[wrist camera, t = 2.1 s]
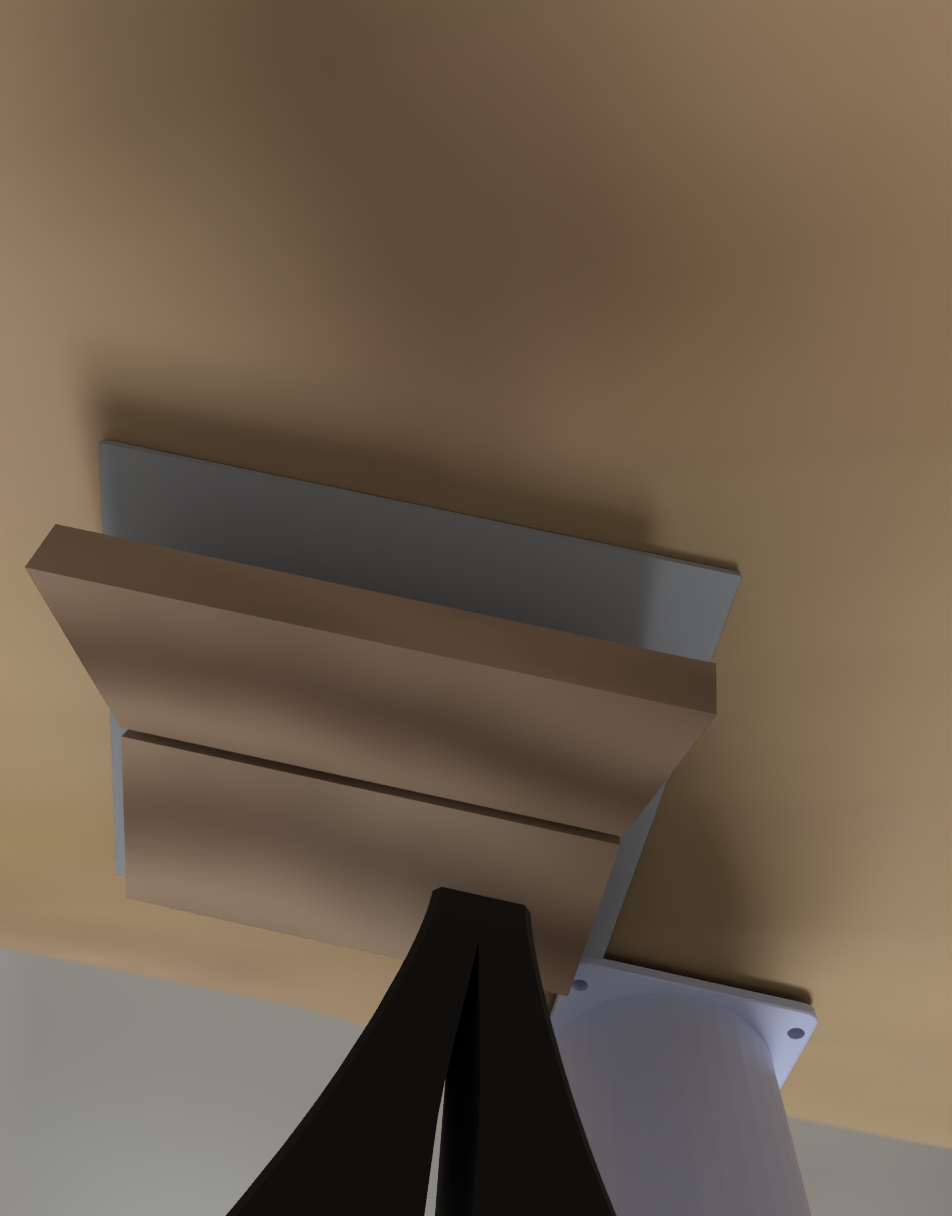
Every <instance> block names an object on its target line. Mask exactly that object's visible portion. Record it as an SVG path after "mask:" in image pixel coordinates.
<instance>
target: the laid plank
mask: <svg viewBox="0 0 952 1216" xmlns="http://www.w3.org/2000/svg"><path fill="white" fill-rule="evenodd" d="M121 746H122V777H123V807H124V838H125V868H126V898H128V899H133V900H137V901H142V902H146V903H151V904H155V905H160V906H164V907H169V908H173V909H178V910H182V911H187V912H191V913H196V914H200V915H205V916H209V917H214V918H218V919H222V920H227V921H231V922H236V923H240V924H245V925H249V926H254V927H258V928H263V929H267V930H272V931H276V932H281V933H285V934H290V935H294V936H299V937H303V938H308V939H312V940H317V941H321V942H326V943H330V944H335V945H339V946H344V947H348V948H353V949H357V950H362V951H366V952H371V953H375V954H380V955H384V956H389V957H393V958H397V959H402V960H405V958H406V956H407V954H408V952H409V950H410V948H411V946H412V944H413V942H414V940H415V937H416V935H417V933H418V931H419V929H420V926H421V924H422V921H423V919H424V916H425V914H426V911H427V908H428V905H429V902H430V898H431V895H432V891H433V890H435V889H437V888H440V887H446V888H450V889H455V890H459V891H464V892H468V893H473V894H478V895H482V896H487V897H491V898H496V899H500V900H505V901H509V902H514V903H518V904H523V905H525V906H526V907H527V909H528V910H529V911H530V913H531V924H532V932H533V939H534V945H535V951H536V957H537V962H538V967H539V972H540V977H541V981H542V986H543V990H544V991H546V992H550V993H555V994H559V995H564V996H568V995H569V992H570V989H571V986H572V984H573V981H574V978H575V975H576V972H577V969H578V966H579V963H580V960H581V958H582V955H583V952H584V949H585V946H586V943H587V940H588V937H589V934H590V931H591V929H592V926H593V923H594V920H595V917H596V914H597V911H598V908H599V905H600V902H601V900H602V897H603V894H604V891H605V888H606V885H607V882H608V879H609V876H610V874H611V871H612V868H613V865H614V862H615V859H616V856H617V853H618V850H619V847H620V836H617V835H613V834H608V833H603V832H599V831H594V830H590V829H585V828H580V827H576V826H571V825H567V824H562V823H557V822H553V821H548V820H544V819H539V818H534V817H530V816H525V815H521V814H516V813H511V812H507V811H502V810H498V809H493V808H488V807H484V806H479V805H475V804H470V803H465V802H461V801H456V800H452V799H447V798H442V797H438V796H433V795H429V794H424V793H419V792H415V791H410V790H406V789H401V788H396V787H392V786H387V785H383V784H378V783H373V782H369V781H364V780H360V779H355V778H350V777H346V776H341V775H337V774H332V773H327V772H323V771H318V770H314V769H309V768H304V767H300V766H295V765H291V764H286V763H281V762H277V761H272V760H268V759H263V758H258V757H254V756H249V755H245V754H240V753H235V752H231V751H226V750H222V749H217V748H212V747H208V746H203V745H199V744H194V743H189V742H185V741H180V740H176V739H171V738H166V737H162V736H157V735H153V734H148V733H143V732H139V731H134V730H130V729H128V730H127V731H126V732H125V733H124V734H123V735H122V736H121Z"/></svg>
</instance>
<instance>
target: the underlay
mask: <svg viewBox="0 0 952 1216" xmlns="http://www.w3.org/2000/svg"><path fill="white" fill-rule="evenodd" d="M99 445H100V471H101V496H102V521H103V534H105V535H109V536H114V537H119V538H124V539H128V540H133V541H138V542H143V543H147V544H152V545H157V546H161V547H166V548H171V549H176V550H180V551H185V552H190V553H195V554H199V555H204V556H209V557H214V558H218V559H223V560H228V561H233V562H237V563H242V564H247V565H251V566H256V567H261V568H266V569H270V570H275V571H280V572H285V573H289V574H294V575H299V576H304V577H308V578H313V579H318V580H322V581H327V582H332V583H337V584H341V585H346V586H351V587H356V588H360V589H365V590H370V591H375V592H379V593H384V594H389V595H393V596H398V597H403V598H408V599H412V600H417V601H422V602H427V603H431V604H436V605H441V606H446V607H450V608H455V609H460V610H465V611H469V612H474V613H479V614H483V615H488V616H493V617H498V618H502V619H507V620H512V621H517V622H521V623H526V624H531V625H536V626H540V627H545V628H550V629H554V630H559V631H564V632H569V633H573V634H578V635H583V636H588V637H592V638H597V639H602V640H607V641H611V642H616V643H621V644H626V645H630V646H635V647H640V648H644V649H649V650H654V651H659V652H663V653H668V654H673V655H678V656H682V657H687V658H692V659H697V660H701V661H706V662H711V660H712V657H713V654H714V652H715V649H716V646H717V643H718V641H719V638H720V635H721V632H722V630H723V627H724V624H725V621H726V619H727V616H728V613H729V610H730V608H731V605H732V602H733V599H734V597H735V594H736V591H737V588H738V586H739V583H740V580H741V577H742V576H741V574H740V572H738V571H734V570H729V569H724V568H719V567H714V566H710V565H705V564H700V563H695V562H690V561H686V560H681V559H676V558H671V557H666V556H661V555H657V554H652V553H647V552H642V551H637V550H633V549H628V548H623V547H618V546H613V545H609V544H604V543H599V542H594V541H589V540H585V539H580V538H575V537H570V536H565V535H561V534H556V533H551V532H546V531H541V530H537V529H532V528H527V527H522V526H517V525H513V524H508V523H503V522H498V521H493V520H489V519H484V518H479V517H474V516H469V515H464V514H460V513H455V512H450V511H445V510H440V509H436V508H431V507H426V506H421V505H416V504H412V503H407V502H402V501H397V500H392V499H388V498H383V497H378V496H373V495H368V494H364V493H359V492H354V491H349V490H344V489H340V488H335V487H330V486H325V485H320V484H316V483H311V482H306V481H301V480H296V479H291V478H287V477H282V476H277V475H272V474H267V473H263V472H258V471H253V470H248V469H243V468H239V467H234V466H229V465H224V464H219V463H215V462H210V461H205V460H200V459H195V458H191V457H186V456H181V455H176V454H171V453H167V452H162V451H157V450H152V449H147V448H143V447H138V446H133V445H128V444H123V443H119V442H114V441H109V440H105V441H102V442H100V443H99ZM110 721H111V746H112V771H113V796H114V821H115V847H116V872H117V875H121V876H125V877H126V868H125V838H124V807H123V777H122V746H121V736H122V735H123V734H124V733H125V732H126V731H127V730H128V729H125V728H121V727H120V725H119V724H118V722H117V720H116V719H115V717H114V715H113V714H112V712H111V710H110ZM668 778H669V777H668ZM667 781H668V779H667V780H666V781H665V783H664V784H663V785H662V787H661V788H660V789H659V790H658V792H657V793H656V794H655V796H654V797H653V798H652V800H651V801H650V802H649V804H648V805H647V806H646V808H645V809H644V810H643V811H642V813H641V814H640V815H639V817H638V818H637V819H636V821H635V822H634V823H633V825H632V826H631V827H630V829H629V830H628V831H627V832H626V834H625V835H624V836H623V837H622V836H620V847H619V850H618V853H617V856H616V859H615V862H614V865H613V868H612V871H611V874H610V876H609V879H608V882H607V885H606V888H605V891H604V894H603V897H602V900H601V902H600V905H599V908H598V911H597V914H596V917H595V920H594V923H593V926H592V929H591V931H590V934H589V937H588V940H587V943H586V946H585V949H584V952H583V955H582V956H588V957H593V958H597V959H602V960H603V957H604V954H605V952H606V949H607V946H608V943H609V941H610V938H611V935H612V932H613V930H614V927H615V924H616V921H617V919H618V916H619V913H620V910H621V908H622V905H623V902H624V899H625V897H626V894H627V891H628V888H629V886H630V883H631V880H632V877H633V875H634V872H635V869H636V866H637V864H638V861H639V858H640V855H641V853H642V850H643V847H644V844H645V842H646V839H647V836H648V833H649V830H650V828H651V825H652V822H653V819H654V817H655V814H656V811H657V808H658V806H659V803H660V800H661V797H662V795H663V792H664V789H665V786H666V784H667Z"/></svg>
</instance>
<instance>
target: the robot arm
mask: <svg viewBox="0 0 952 1216" xmlns="http://www.w3.org/2000/svg"><path fill="white" fill-rule="evenodd" d="M581 980H582V981H581ZM817 1023H818V1020H817V1017H816V1014H815V1011H814V1008H812V1007H811V1006H810V1005H808V1004H805V1003H802V1002H798V1001H793V1000H789V999H784V998H780V997H775V996H771V995H766V994H762V993H757V992H753V991H748V990H744V989H739V988H735V987H730V986H726V985H721V984H717V983H712V982H708V981H703V980H699V979H694V978H689V977H685V976H680V975H676V974H671V973H667V972H662V971H658V970H653V969H649V968H644V967H640V966H635V965H631V964H626V963H622V962H617V961H613V960H608V959H604V958H603V960H602V959H597V958H593V957H588V956H582V958H581V960H580V963H579V966H578V969H577V972H576V975H575V978H574V981H573V984H572V986H571V989H570V992H569V995H568V996H564V995H559V994H557V997H556V1000H555V1003H554V1006H553V1009H552V1012H551V1015H549V1011H548V1007H547V1003H546V999H545V995H544V990H543V986H542V981H541V977H540V972H539V967H538V962H537V957H536V951H535V945H534V939H533V932H532V924H531V913H530V911H529V910H528V909H527V907H526V906H525V905H523V904H518V903H514V902H509V901H505V900H500V899H496V898H491V897H487V896H482V895H478V894H473V893H468V892H464V891H459V890H455V889H450V888H446V887H440V888H437V889H435V890H433V891H432V895H431V898H430V902H429V905H428V908H427V911H426V914H425V916H424V919H423V921H422V924H421V926H420V929H419V931H418V933H417V935H416V937H415V940H414V942H413V944H412V946H411V948H410V950H409V952H408V954H407V956H406V958H405V960H404V962H403V964H402V966H401V968H400V970H399V971H398V973H397V975H396V977H395V978H394V980H393V982H392V984H391V985H390V987H389V989H388V991H387V992H386V994H385V996H384V998H383V999H382V1001H381V1003H380V1005H379V1007H378V1008H377V1010H376V1012H375V1013H374V1015H373V1017H372V1018H371V1020H370V1021H369V1023H368V1025H367V1026H366V1028H365V1029H364V1031H363V1032H362V1034H361V1035H360V1037H359V1039H358V1040H357V1042H356V1043H355V1045H354V1046H353V1048H352V1049H351V1051H350V1052H349V1054H348V1055H347V1057H346V1058H345V1060H344V1061H343V1063H342V1065H341V1066H340V1068H339V1069H338V1071H337V1072H336V1074H335V1075H334V1076H333V1078H332V1079H331V1081H330V1082H329V1084H328V1085H327V1086H326V1088H325V1089H324V1091H323V1092H322V1094H321V1095H320V1096H319V1098H318V1099H317V1101H316V1102H315V1103H314V1105H313V1106H312V1107H311V1109H310V1110H309V1112H308V1113H307V1114H306V1116H305V1117H304V1118H303V1120H302V1121H301V1122H300V1124H299V1125H298V1126H297V1128H296V1129H295V1130H294V1132H293V1133H292V1134H291V1135H290V1137H289V1138H288V1140H287V1141H286V1142H285V1143H284V1145H283V1146H282V1147H281V1149H280V1150H279V1151H278V1152H277V1154H276V1155H275V1156H274V1157H273V1159H272V1160H271V1161H270V1162H269V1163H268V1165H267V1166H266V1167H265V1168H264V1170H263V1171H262V1172H261V1174H260V1175H259V1176H258V1177H257V1178H256V1180H255V1181H254V1182H253V1183H252V1185H251V1186H250V1187H249V1188H248V1190H247V1191H246V1192H245V1193H244V1195H243V1196H242V1197H241V1198H240V1200H239V1201H238V1202H237V1203H236V1204H235V1205H234V1207H233V1208H232V1209H231V1210H230V1211H229V1212H228V1214H227V1215H226V1216H424V1213H425V1206H426V1199H427V1191H428V1184H429V1176H430V1169H431V1162H432V1155H433V1147H434V1140H435V1133H436V1125H437V1119H438V1112H439V1108H440V1103H441V1098H442V1092H443V1087H444V1082H445V1092H444V1104H443V1117H442V1131H441V1143H440V1158H439V1171H438V1183H437V1196H436V1209H435V1216H811V1212H810V1208H809V1204H808V1200H807V1197H806V1192H805V1188H804V1185H803V1181H802V1177H801V1173H800V1169H799V1165H798V1161H797V1157H796V1153H795V1149H794V1145H793V1141H792V1137H791V1133H790V1129H789V1125H788V1121H787V1117H786V1113H785V1109H784V1105H783V1101H782V1097H781V1093H780V1089H781V1087H782V1085H783V1084H784V1082H785V1080H786V1078H787V1077H788V1075H789V1073H790V1071H791V1070H792V1068H793V1066H794V1064H795V1063H796V1061H797V1059H798V1057H799V1056H800V1054H801V1052H802V1050H803V1049H804V1047H805V1045H806V1044H807V1042H808V1040H809V1038H810V1037H811V1035H812V1033H813V1031H814V1030H815V1028H816V1026H817ZM445 1078H446V1079H445Z"/></svg>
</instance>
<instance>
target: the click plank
mask: <svg viewBox="0 0 952 1216" xmlns="http://www.w3.org/2000/svg"><path fill="white" fill-rule="evenodd" d="M25 568H26V570H27V572H28V573H29V575H30V577H31V578H32V580H33V582H34V583H35V585H36V587H37V588H38V590H39V592H40V593H41V595H42V597H43V598H44V600H45V602H46V603H47V605H48V607H49V608H50V610H51V612H52V613H53V615H54V617H55V618H56V620H57V622H58V623H59V625H60V627H61V629H62V630H63V632H64V634H65V635H66V637H67V639H68V640H69V642H70V644H71V645H72V647H73V649H74V650H75V652H76V654H77V655H78V657H79V659H80V660H81V662H82V664H83V665H84V667H85V669H86V670H87V672H88V674H89V675H90V677H91V679H92V680H93V682H94V684H95V685H96V687H97V689H98V690H99V692H100V694H101V695H102V697H103V699H104V700H105V702H106V704H107V705H108V707H109V709H110V710H111V712H112V714H113V715H114V717H115V719H116V720H117V722H118V724H119V725H120V727H121V728H125V729H130V730H134V731H139V732H143V733H148V734H153V735H157V736H162V737H166V738H171V739H176V740H180V741H185V742H189V743H194V744H199V745H203V746H208V747H212V748H217V749H222V750H226V751H231V752H235V753H240V754H245V755H249V756H254V757H258V758H263V759H268V760H272V761H277V762H281V763H286V764H291V765H295V766H300V767H304V768H309V769H314V770H318V771H323V772H327V773H332V774H337V775H341V776H346V777H350V778H355V779H360V780H364V781H369V782H373V783H378V784H383V785H387V786H392V787H396V788H401V789H406V790H410V791H415V792H419V793H424V794H429V795H433V796H438V797H442V798H447V799H452V800H456V801H461V802H465V803H470V804H475V805H479V806H484V807H488V808H493V809H498V810H502V811H507V812H511V813H516V814H521V815H525V816H530V817H534V818H539V819H544V820H548V821H553V822H557V823H562V824H567V825H571V826H576V827H580V828H585V829H590V830H594V831H599V832H603V833H608V834H613V835H617V836H622V837H623V836H624V835H625V834H626V832H627V831H628V830H629V829H630V827H631V826H632V825H633V823H634V822H635V821H636V819H637V818H638V817H639V815H640V814H641V813H642V811H643V810H644V809H645V808H646V806H647V805H648V804H649V802H650V801H651V800H652V798H653V797H654V796H655V794H656V793H657V792H658V790H659V789H660V788H661V787H662V785H663V784H664V783H665V781H666V780H667V779H668V777H669V776H670V775H671V773H672V772H673V771H674V770H675V768H676V767H677V766H678V764H679V763H680V762H681V760H682V759H683V758H684V756H685V755H686V754H687V752H688V751H689V750H690V749H691V747H692V746H693V745H694V743H695V742H696V741H697V739H698V738H699V737H700V735H701V734H702V733H703V732H704V730H705V729H706V728H707V726H708V725H709V724H710V722H711V721H712V720H713V718H714V717H715V716H716V664H715V663H711V662H706V661H701V660H697V659H692V658H687V657H682V656H678V655H673V654H668V653H663V652H659V651H654V650H649V649H644V648H640V647H635V646H630V645H626V644H621V643H616V642H611V641H607V640H602V639H597V638H592V637H588V636H583V635H578V634H573V633H569V632H564V631H559V630H554V629H550V628H545V627H540V626H536V625H531V624H526V623H521V622H517V621H512V620H507V619H502V618H498V617H493V616H488V615H483V614H479V613H474V612H469V611H465V610H460V609H455V608H450V607H446V606H441V605H436V604H431V603H427V602H422V601H417V600H412V599H408V598H403V597H398V596H393V595H389V594H384V593H379V592H375V591H370V590H365V589H360V588H356V587H351V586H346V585H341V584H337V583H332V582H327V581H322V580H318V579H313V578H308V577H304V576H299V575H294V574H289V573H285V572H280V571H275V570H270V569H266V568H261V567H256V566H251V565H247V564H242V563H237V562H233V561H228V560H223V559H218V558H214V557H209V556H204V555H199V554H195V553H190V552H185V551H180V550H176V549H171V548H166V547H161V546H157V545H152V544H147V543H143V542H138V541H133V540H128V539H124V538H119V537H114V536H109V535H105V534H100V533H95V532H90V531H86V530H81V529H76V528H72V527H67V526H62V525H57V524H55V526H54V527H53V528H52V530H51V531H50V533H49V534H48V535H47V537H46V538H45V540H44V541H43V542H42V544H41V545H40V547H39V548H38V550H37V551H36V552H35V554H34V555H33V557H32V558H31V559H30V561H29V562H28V564H27V565H26V567H25Z"/></svg>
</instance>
